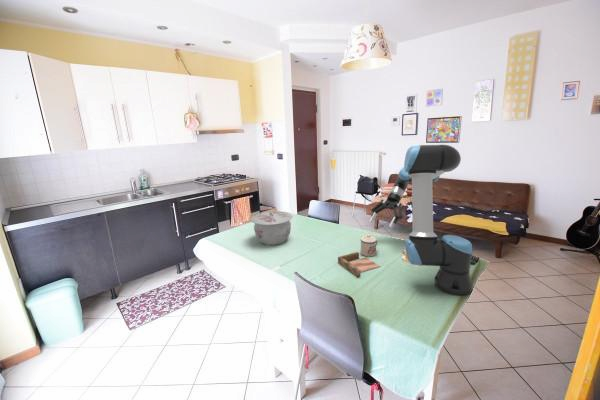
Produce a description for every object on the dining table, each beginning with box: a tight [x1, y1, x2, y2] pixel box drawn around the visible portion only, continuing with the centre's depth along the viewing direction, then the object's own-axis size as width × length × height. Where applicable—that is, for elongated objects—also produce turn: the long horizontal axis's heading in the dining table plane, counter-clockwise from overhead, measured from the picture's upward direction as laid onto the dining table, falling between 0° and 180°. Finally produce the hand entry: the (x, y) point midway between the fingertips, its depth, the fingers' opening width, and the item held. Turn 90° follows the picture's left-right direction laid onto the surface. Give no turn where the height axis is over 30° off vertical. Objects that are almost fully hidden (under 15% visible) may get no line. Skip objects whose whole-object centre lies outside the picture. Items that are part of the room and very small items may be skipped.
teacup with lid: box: [360, 234, 378, 258], centre depth 162 cm, size 12×9×12 cm
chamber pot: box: [250, 210, 293, 246], centre depth 185 cm, size 28×28×21 cm
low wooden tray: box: [337, 251, 381, 278], centre depth 149 cm, size 18×17×4 cm
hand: (380, 224), depth 166 cm, fingers open, 13 cm apart
